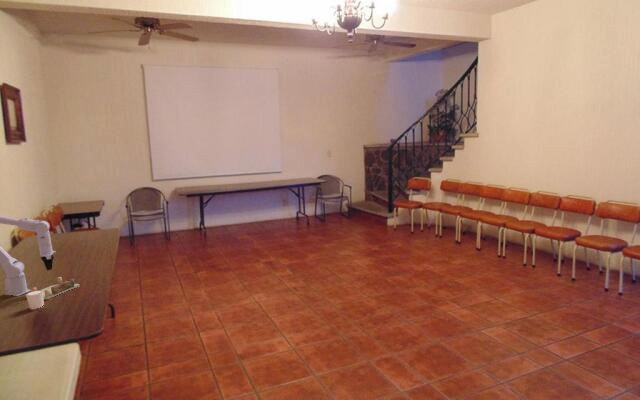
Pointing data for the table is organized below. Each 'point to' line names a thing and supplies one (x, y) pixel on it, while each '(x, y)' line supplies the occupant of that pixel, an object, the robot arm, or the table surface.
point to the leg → (62, 286)
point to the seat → (48, 293)
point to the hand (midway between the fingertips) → (49, 269)
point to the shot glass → (35, 299)
